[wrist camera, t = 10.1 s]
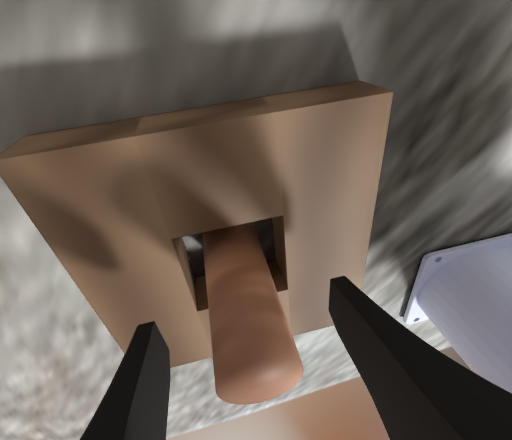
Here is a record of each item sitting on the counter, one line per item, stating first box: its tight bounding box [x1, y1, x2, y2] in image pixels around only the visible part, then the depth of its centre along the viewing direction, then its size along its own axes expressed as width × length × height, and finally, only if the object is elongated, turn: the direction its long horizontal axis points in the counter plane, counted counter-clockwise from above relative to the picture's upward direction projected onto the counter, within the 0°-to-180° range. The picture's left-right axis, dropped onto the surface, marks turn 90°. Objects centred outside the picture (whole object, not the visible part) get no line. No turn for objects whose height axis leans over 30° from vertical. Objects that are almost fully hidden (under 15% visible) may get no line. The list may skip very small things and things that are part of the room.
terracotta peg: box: [202, 222, 304, 404], centre depth 13 cm, size 3×3×8 cm
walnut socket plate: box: [0, 81, 393, 368], centre depth 15 cm, size 14×14×2 cm
